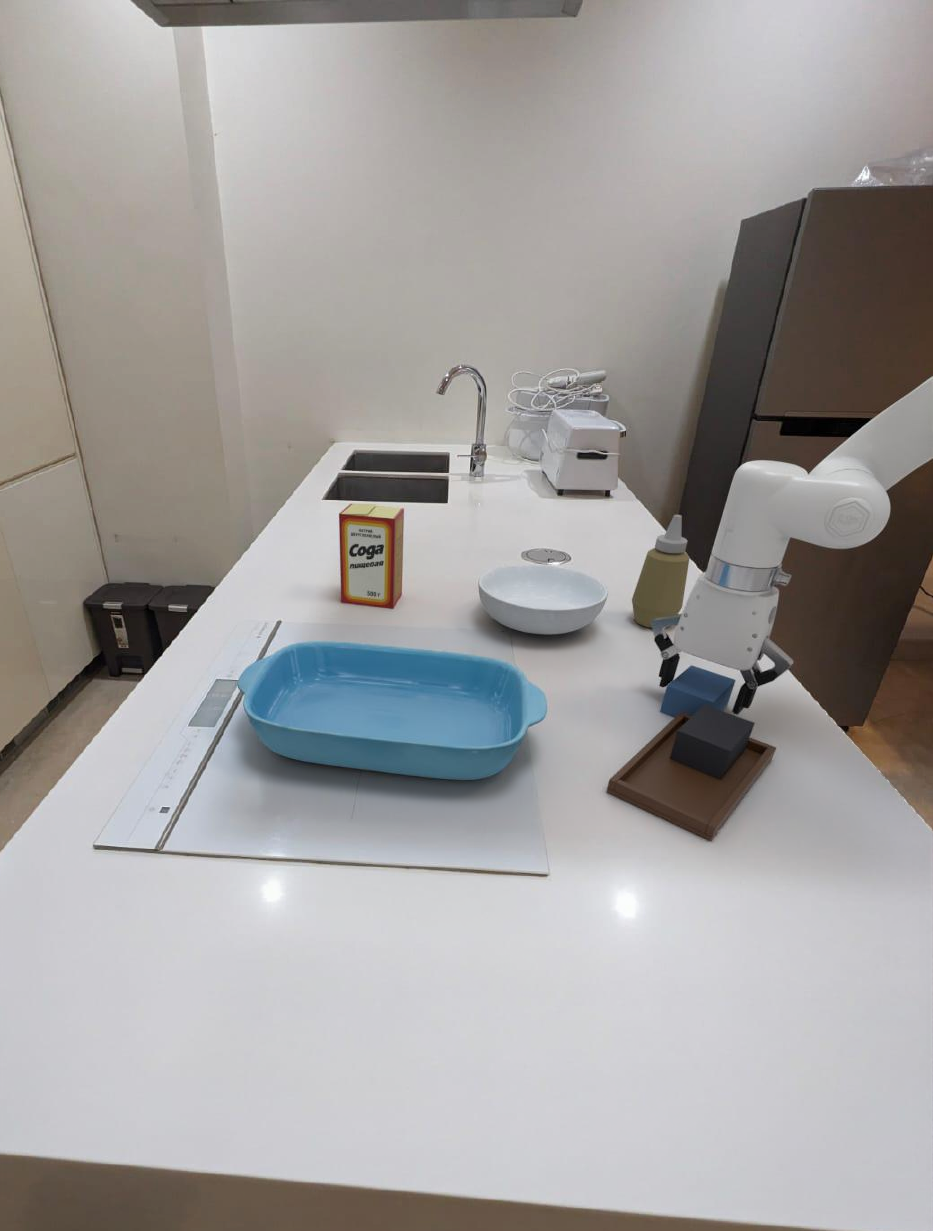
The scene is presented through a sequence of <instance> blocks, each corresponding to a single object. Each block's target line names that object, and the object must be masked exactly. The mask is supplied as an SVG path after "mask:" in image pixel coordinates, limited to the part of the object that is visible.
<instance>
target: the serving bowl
mask: <svg viewBox="0 0 933 1231" xmlns="http://www.w3.org/2000/svg"><path fill="white" fill-rule="evenodd" d="M477 585H478V595H479V599H480V602H481V605H482V607H483V608H484V610H485V612H486V613H487V614H488V615H489V616H490V617H491V618H492V619H494V620H495V621H497V622H498V623H499V624H501V625H502V626H505V627H507V628H509V629H512V630H514V631H519V632H523V633H528V634H535V635H561V634H566V633H567V634H568V633H572V632H575V631H577V630H580V629H582V628H585V627H587V626H588V625H590V624H591V623H593V621H594V620H595V619H596V618H598V616H599V614H601V612H602V610H603V608H604V607H605V605H606V603H607V599H608V597H609V590H608V587H607V586H606V585H605V583H603V581H601V580H599V579H598V578H596V577H595V576H592V575H590V574H588V573H585V572H582V571H579V570H575V569H572V568H568V567H563V566H557V565H551V564H550V565H548V564H539V563H538V564H536V563H534V564H533V563H519V564H518V563H517V564H516V563H515V564H508V565H501V566H498V567H494V568H491V569H488V570H486V571H485V572H483V573H482V574H481V575H480V577H479V578H478V583H477Z"/></svg>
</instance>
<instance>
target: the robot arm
mask: <svg viewBox="0 0 933 1231" xmlns="http://www.w3.org/2000/svg"><path fill="white" fill-rule="evenodd" d="M931 460H933V375H932V376H931V377H930V378H927V379H926V380H925V381H924V382H922V383H921V384H920V385H919V386H917V387H915V389H913V390H911V391H910V392H909V393H907V394H906V395H904V396H903V397H901V398H900V399H899V400H897V401H895V402H894V403H892V404H891V405H890V406H889V407H887V408H886V409H884V410H883V411H881V412H880V413H879V414H877V415H876V416H875V417H873V418H871V419H870V420H869V421H868V422H867V423H865V424H864V425H863V426H861V428H859V429H858V430H857V431H855V432H854V433H853V434H851V436H850V437H849V438H847V439H846V440H845V441H844V442H842V443H841V444H840V445H839V446H837V447H836V448H835V449H834V450H833V451H831V453H829V454H828V455H827V456H826V457H825V458H824V459H822V460H821V461H820V462H819V463H818V464H817V465H816V466H815V467H814V468H813V469H812V470H810V472H809V473H808V471H807V470H806V469H805V468H803V467H802V466H799V465H797V464H794V463H789V462H785V461H778V460H767V459H764V460H763V459H760V460H759V459H756V460H751V461H746V462H745V463H742V464H741V465H740V466H739V467H738V468H737V469H736V471H735V472H734V475H733V478H732V481H731V484H730V488H729V491H728V495H727V498H726V501H725V504H724V508H723V512H722V515H721V518H720V522H719V526H718V529H717V532H716V534H715V535H716V536H715V539H714V541H713V542H714V543H713V546H712V549H711V552H710V557H709V560H708V563H707V568H706V570H705V571H703V572H702V573H701V574H700V575H699V576H698V577H697V580H696V581H695V583H694V585H693V587H692V589H691V591H690V593H689V596H688V597H687V600H686V603H685V605H684V608H683V610H682V612H681V613H678V614H677V615H671V616H665V617H659V618H656V619H655V620H653V621H652V622H651V625H652V628H651V630H652V633H653V634H652V635H653V636H654V638H653V641H654V643H655V644H656V646H657V648H658V650H659V651H660V657H661V658H662V661H661V665H660V668H659V673H658V677H659V678H660V681H659V687H661V688H667V685H669V684H670V683H671V682H672V681H673V680H674V679H675V677H676V673H677V669H678V666H679V662H680V659H681V656H680V653H681V652H683V653H685V654H687V655H691V656H693V657H696V658H700V659H702V660H706V661H709V662H711V663H714V664H716V665H717V664H718V665H720V666H724V667H727V668H730V669H733V670H737V671H739V672H740V674H741V677H742V679H743V681H744V683H743V684H742V685H741V686H740V688H739V690H738V693H737V696H736V699H735V702H734V705H733V707H732V710H731V712H732V713H733V714H732V715H735V716H738V715H739V714H740V713H741V712H742V711H743V710H744V709H748V710H749V708H750V707H751V705H752V703H753V700H754V698H755V696H756V693H757V690H758V687H762V686H764V685H766V684H769V683H772V682H774V681H775V680H777V678H779V677H780V676H781V675H783V674H784V673H785V672H787V671H788V670H789V669H790V668H791V667H792V666H793V665H794V664H795V662H794V660H793V658H791V657H790V656H789V655H788V654H787V653H786V652H784V651H783V649H781V648H780V647H779V646H778V645H777V644H776V643H775V642H774V641H772V640H771V639H770V637H771V634H772V630H773V628H774V623H775V618H776V615H777V610H778V604H779V598H780V590H779V588H778V587H776V586H783V587H787V586H788V585H789V583H790V581H791V578H792V574H790V573H786V571H783V568H782V566H783V563H782V562H783V559H784V557H785V554H786V551H787V547H788V544H789V542H790V539H796V540H799V541H803V542H805V543H808V544H809V543H810V544H812V545H816V546H819V547H822V548H823V547H824V548H828V549H833V550H834V549H835V550H848V549H853V548H858V547H860V546H863V545H866V544H867V543H870V542H871V541H873V540H874V539H875V538H876V537H877V536H878V535H880V533H881V532H882V531H883V530H884V528H885V527H886V526H887V524H888V521H889V519H890V515H891V501H890V497H889V495H888V490H890V489H891V488H892V487H893V486H895V485H896V484H898V483H899V482H900V481H901V480H903V479H904V478H906V477H907V476H908V475H909V474H911V473H913V472H914V471H915V470H916V469H918V468H920V467H921V466H923V465H924V464H926V463H929V461H931ZM666 627H667V628H671V627H676V629H675V632H674V636H673V641H672V639H671V637H670V636H669V634H668V633H667V628H666ZM764 655H765V656H766V657H767V658H768V659H769V660H770V661H771V662H773V663H774V666H772V667H771V668H768V669H766V670H764V671H763V670H762V668H761V666H760V663H759V662H760V661H761V660H762V659H763V657H764ZM758 661H759V662H758Z"/></svg>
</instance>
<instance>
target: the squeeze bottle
mask: <svg viewBox="0 0 933 1231" xmlns="http://www.w3.org/2000/svg"><path fill="white" fill-rule="evenodd" d="M682 517H683V516H682V515H681V514H674V515H673V517H672V519H671V521H670V523H669V525H668V527H667V529H666V532H665V533H664V534H661V535H658V536H657V537H656V540H655V544H654V547H653V548H651V549H649V550H648V551H647V553H646V556H645V558H644V562H643V565H642V568H641V571H640V574H639V577H638V580H637V583H636V585H635V588H634V591H633V595H632V598H631V604H632V613H633V619H634V621H635V623H637V624H639V625H640V626H643V627H646V628H649V629H650V628H651V629H652V625H651V622H652V621H653V620H655V619H656V618H659V617H665V616H671V615H677V614H680V611H681V610H682V609H683V604H684V597H685V591H686V584H687V578H688V571H689V564H690V558H691V557H690V556H689V555H688V553H687V552H686V548H687V545H688V540H687V538H686V537H683V536H682V529H683V528H682V526H683V522H682V521H683V518H682ZM667 628H668V627H666V629H667Z"/></svg>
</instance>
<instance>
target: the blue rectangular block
mask: <svg viewBox="0 0 933 1231" xmlns="http://www.w3.org/2000/svg"><path fill="white" fill-rule="evenodd" d="M735 684H736V679H735V678H732V677H728V676H726V675H723V674H719V673H716V672H713V671H710V670H707V669H704V668H701V667H699V666H695V665H693V664H691V665H690V666H688V667H687V668H686V669H685V670H683V671H682V672H681V673H680V674H679V675H678V676H677V677H676V678H674V679H673V681H672V682H671V683H669V684H668V685H667V686H666V687H665V688H666V689H665V692H664V696H663V699H662V702H661V706H660V710H659V712H660V713H662V714H664V715H668V716H670V717H673V718H675V717H676V716H677V715H678V714H679V713H680V712H683V713H686V714H689V715H691V716H693V715H694V714H695V713H696V712H697V711H698V710H699V709H700V708H701V707H702V706H703V705H707V706H709V707H712V708H715V709H718V710H720V711H723V710H725V709H726V707H727V706H728V705H729V702H730V699H731V696H732V694H733V690H734V687H735Z"/></svg>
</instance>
